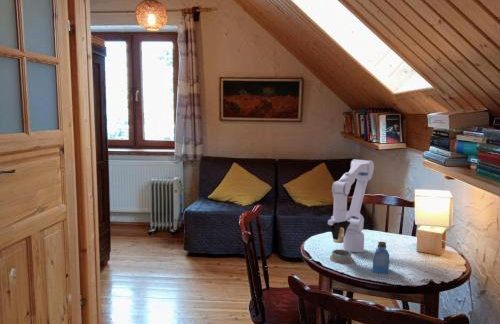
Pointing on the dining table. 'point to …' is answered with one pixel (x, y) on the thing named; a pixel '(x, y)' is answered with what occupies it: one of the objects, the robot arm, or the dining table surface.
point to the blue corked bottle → (381, 259)
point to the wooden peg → (340, 236)
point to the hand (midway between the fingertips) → (338, 237)
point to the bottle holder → (341, 256)
